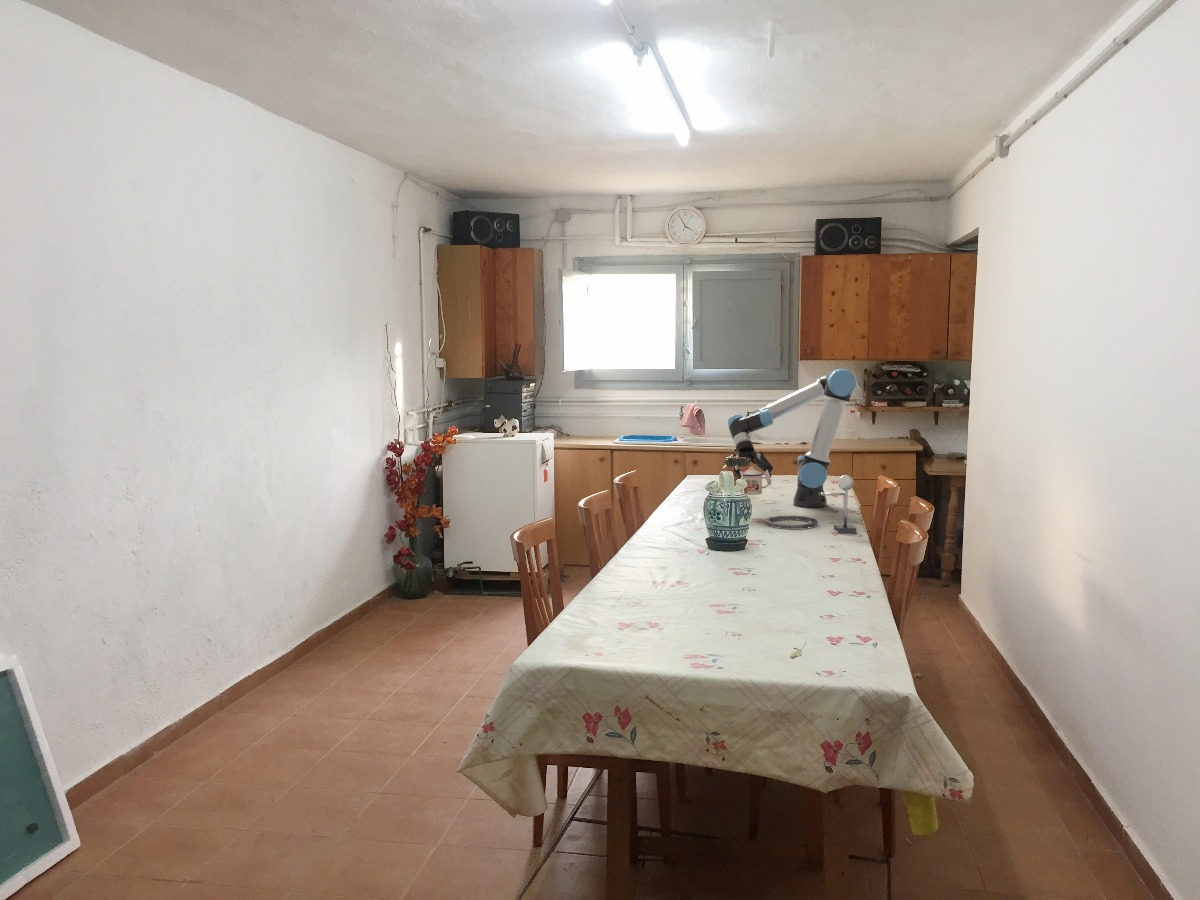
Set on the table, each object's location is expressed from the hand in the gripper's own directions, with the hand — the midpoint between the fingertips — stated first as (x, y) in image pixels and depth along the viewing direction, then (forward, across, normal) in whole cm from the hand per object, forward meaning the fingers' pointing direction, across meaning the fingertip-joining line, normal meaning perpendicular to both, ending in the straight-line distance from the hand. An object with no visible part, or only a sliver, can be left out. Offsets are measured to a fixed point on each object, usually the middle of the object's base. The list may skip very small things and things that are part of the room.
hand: (757, 484), depth 386 cm
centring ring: (+22, -8, +1) cm, 23 cm away
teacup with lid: (+1, 0, -5) cm, 5 cm away
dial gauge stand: (+35, -19, +14) cm, 43 cm away
